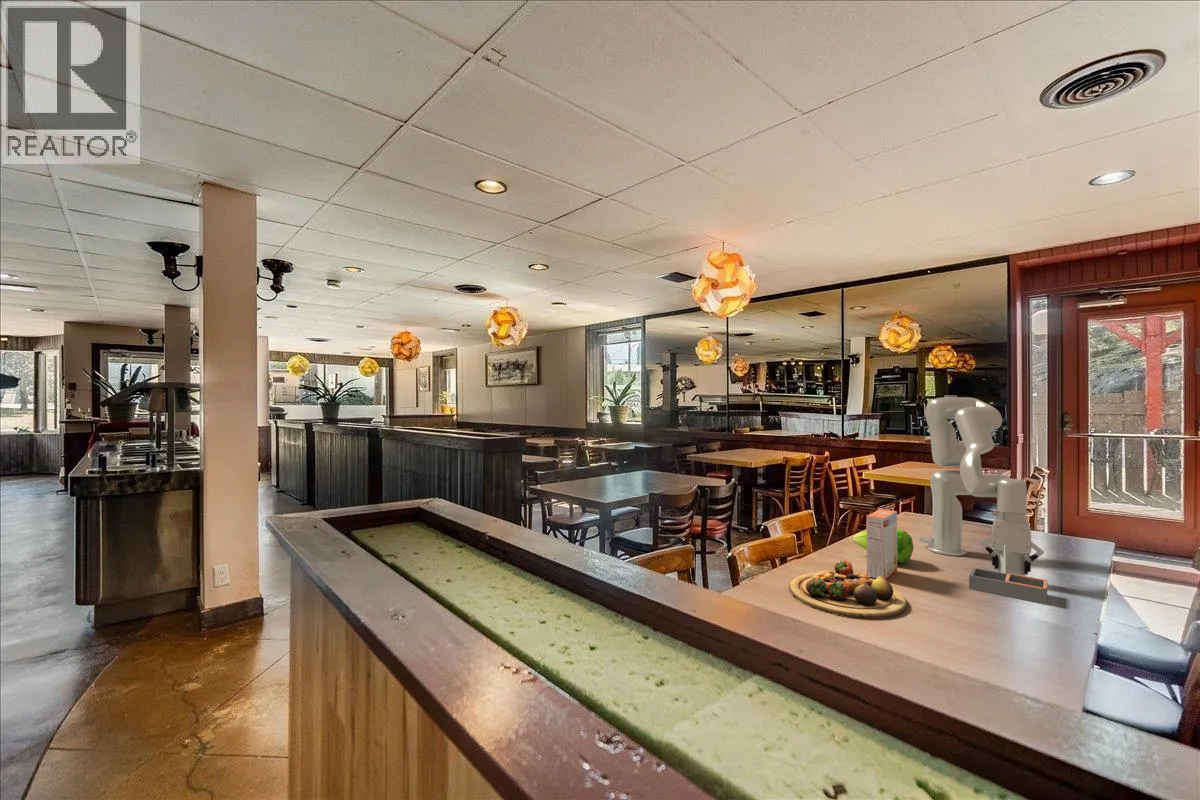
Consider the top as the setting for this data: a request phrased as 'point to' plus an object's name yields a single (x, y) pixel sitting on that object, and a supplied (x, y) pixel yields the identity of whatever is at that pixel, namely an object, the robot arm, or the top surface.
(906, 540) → the lettuce
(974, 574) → the box
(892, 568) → the cracker box
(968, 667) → the top surface
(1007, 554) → the skincare box
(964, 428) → the robot arm
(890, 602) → the wooden plate with food
